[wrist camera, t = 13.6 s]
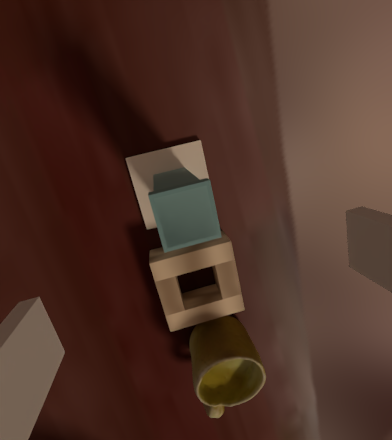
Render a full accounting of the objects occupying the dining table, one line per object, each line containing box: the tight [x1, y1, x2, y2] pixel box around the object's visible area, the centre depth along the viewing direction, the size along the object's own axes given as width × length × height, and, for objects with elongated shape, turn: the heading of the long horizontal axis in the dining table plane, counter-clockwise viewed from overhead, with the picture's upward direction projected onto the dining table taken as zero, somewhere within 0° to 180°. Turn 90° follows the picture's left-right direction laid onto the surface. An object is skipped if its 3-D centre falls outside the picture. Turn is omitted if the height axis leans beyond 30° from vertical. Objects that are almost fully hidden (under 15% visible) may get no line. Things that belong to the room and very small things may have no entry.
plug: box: [148, 167, 222, 253], centre depth 26 cm, size 4×4×14 cm
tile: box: [125, 140, 209, 230], centre depth 33 cm, size 9×9×1 cm
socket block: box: [149, 231, 245, 332], centre depth 35 cm, size 10×10×4 cm
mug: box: [189, 315, 266, 418], centre depth 37 cm, size 12×10×10 cm
